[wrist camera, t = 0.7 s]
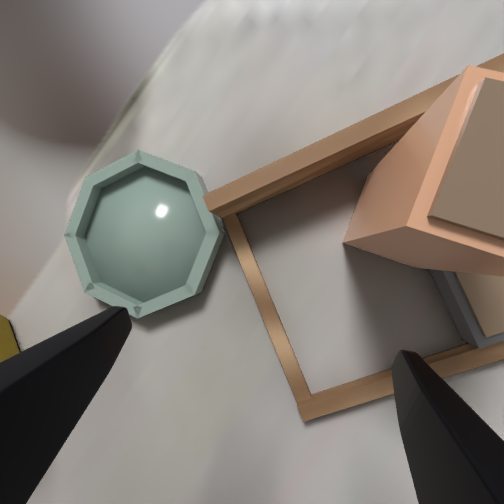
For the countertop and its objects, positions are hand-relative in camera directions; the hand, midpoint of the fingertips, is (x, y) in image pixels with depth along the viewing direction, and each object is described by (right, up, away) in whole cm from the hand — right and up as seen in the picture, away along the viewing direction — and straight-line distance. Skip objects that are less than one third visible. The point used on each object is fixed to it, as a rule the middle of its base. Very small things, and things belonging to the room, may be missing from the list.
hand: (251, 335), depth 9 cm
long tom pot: (+11, +5, +11) cm, 17 cm away
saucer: (-9, +4, +15) cm, 18 cm away
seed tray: (+16, +1, +10) cm, 19 cm away
